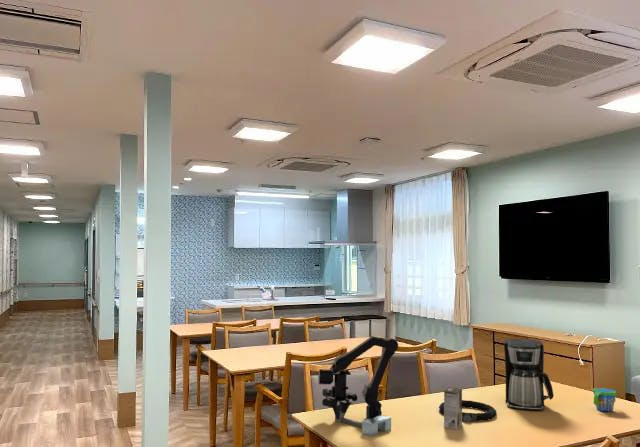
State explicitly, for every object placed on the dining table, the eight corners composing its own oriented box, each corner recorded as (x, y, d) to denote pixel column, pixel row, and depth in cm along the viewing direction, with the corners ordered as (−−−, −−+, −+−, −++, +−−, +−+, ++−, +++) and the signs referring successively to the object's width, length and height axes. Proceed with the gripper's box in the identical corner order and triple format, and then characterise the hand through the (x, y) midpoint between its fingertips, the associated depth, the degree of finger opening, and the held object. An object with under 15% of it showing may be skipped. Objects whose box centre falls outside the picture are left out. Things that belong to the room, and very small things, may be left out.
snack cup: (605, 406, 283) (605, 386, 284) (624, 411, 274) (624, 391, 275) (585, 409, 277) (584, 389, 278) (603, 414, 267) (603, 393, 268)
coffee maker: (513, 411, 269) (513, 343, 272) (488, 395, 302) (488, 335, 304) (557, 411, 271) (556, 344, 274) (527, 395, 303) (527, 335, 306)
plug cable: (334, 420, 247) (334, 412, 248) (339, 419, 250) (340, 411, 251) (371, 431, 233) (371, 423, 233) (377, 429, 235) (377, 421, 236)
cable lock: (495, 401, 275) (498, 417, 246) (495, 409, 274) (498, 426, 246) (440, 397, 282) (437, 411, 253) (440, 404, 282) (436, 420, 253)
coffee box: (448, 422, 249) (448, 386, 250) (462, 424, 246) (462, 388, 247) (443, 427, 241) (443, 390, 242) (457, 429, 238) (457, 392, 239)
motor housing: (362, 433, 230) (362, 421, 230) (381, 426, 240) (382, 414, 240) (371, 436, 226) (371, 423, 227) (391, 429, 237) (391, 417, 237)
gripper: (340, 378, 261) (340, 411, 260) (313, 384, 248) (313, 418, 247) (358, 382, 254) (357, 416, 253) (331, 388, 240) (331, 424, 239)
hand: (339, 418), depth 248 cm, fingers closed on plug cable, 3 cm apart
